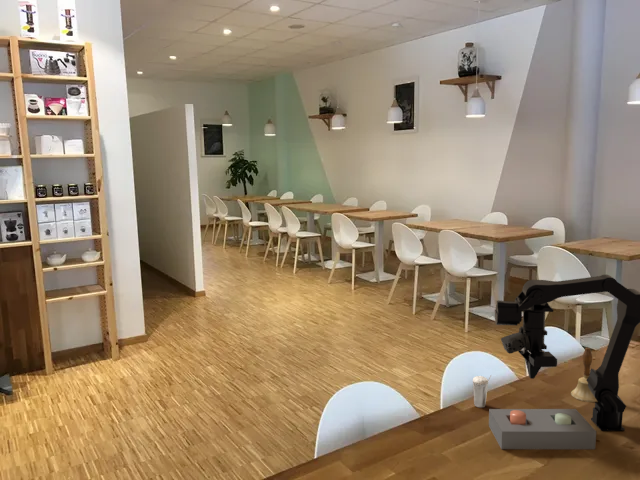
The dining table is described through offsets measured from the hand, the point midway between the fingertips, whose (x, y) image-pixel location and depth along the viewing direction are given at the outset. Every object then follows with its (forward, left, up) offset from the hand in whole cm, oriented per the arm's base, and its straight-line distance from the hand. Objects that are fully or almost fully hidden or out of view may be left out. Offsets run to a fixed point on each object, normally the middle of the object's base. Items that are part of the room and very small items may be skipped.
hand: (531, 378), depth 150 cm
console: (+1, +9, -13) cm, 16 cm away
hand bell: (-22, -15, -13) cm, 30 cm away
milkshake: (+12, -9, -13) cm, 20 cm away
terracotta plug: (+7, +9, -11) cm, 16 cm away
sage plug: (-5, +9, -12) cm, 16 cm away
